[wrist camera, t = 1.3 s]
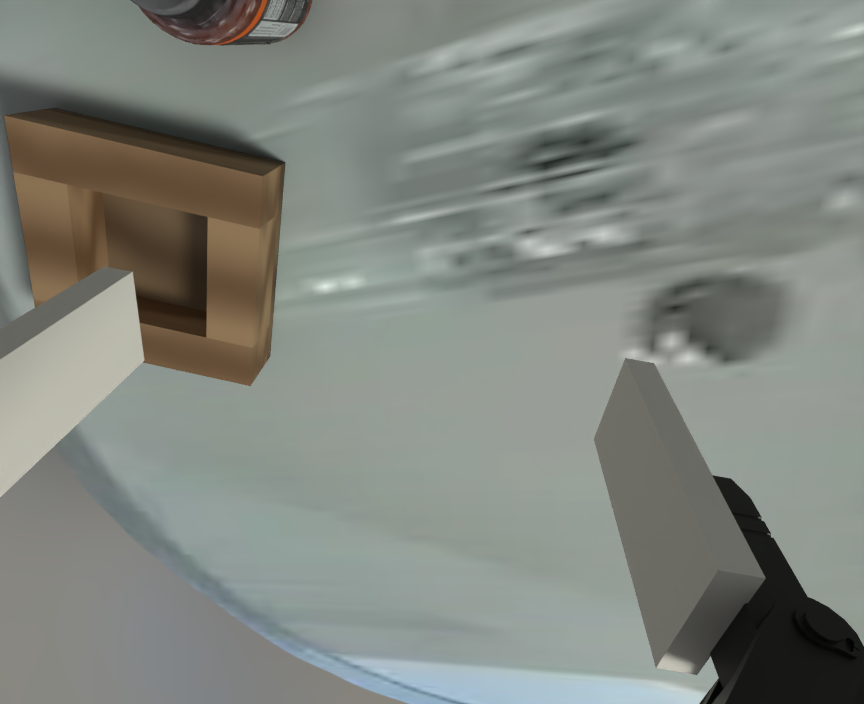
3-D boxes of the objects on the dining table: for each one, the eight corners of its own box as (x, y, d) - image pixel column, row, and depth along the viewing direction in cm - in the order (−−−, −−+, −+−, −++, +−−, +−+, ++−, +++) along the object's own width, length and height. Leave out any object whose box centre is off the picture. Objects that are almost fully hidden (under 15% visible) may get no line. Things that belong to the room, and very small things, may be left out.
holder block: (54, 107, 33) (4, 115, 29) (285, 162, 33) (262, 176, 30) (78, 313, 40) (40, 340, 36) (270, 356, 40) (250, 386, 37)
